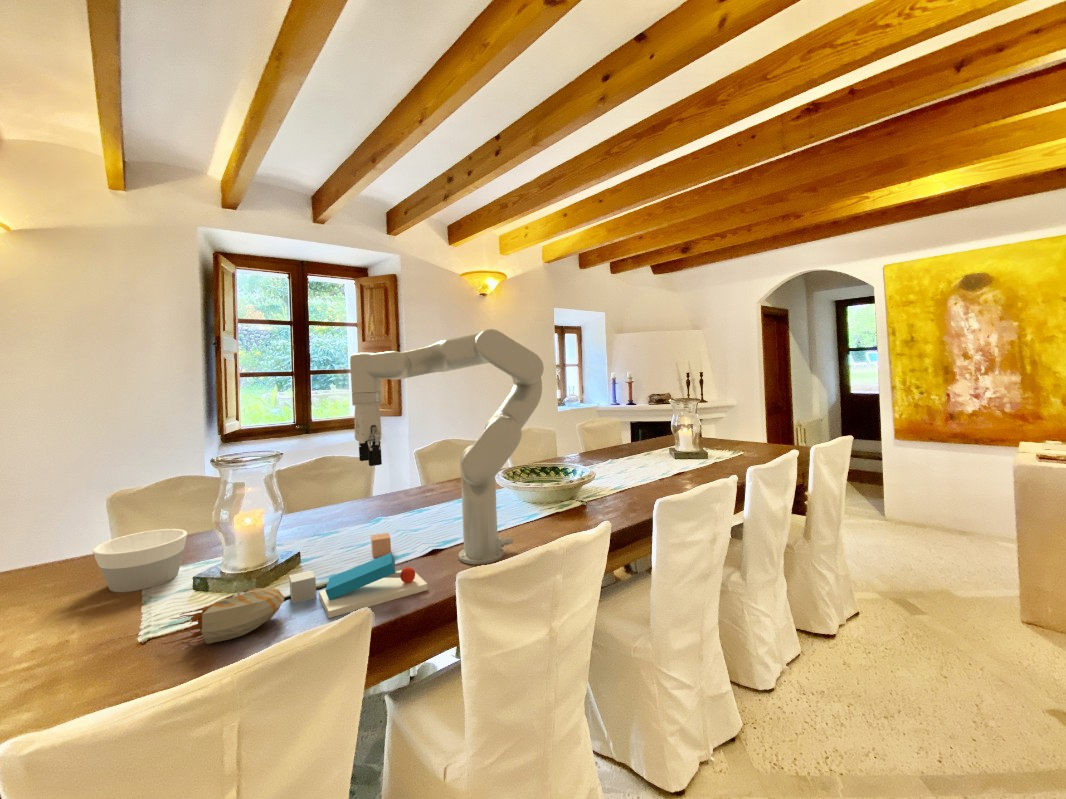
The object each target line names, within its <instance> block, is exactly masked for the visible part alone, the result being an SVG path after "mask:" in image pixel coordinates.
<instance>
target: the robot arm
mask: <svg viewBox="0 0 1066 799" xmlns="http://www.w3.org/2000/svg"><path fill="white" fill-rule="evenodd" d="M485 364H490V365H492V366H494V367H495V368H497V369H498V370H500V371H502V372H504V373H505V374H507V375H508V376H510V377H511V378H512V388H511V390H510V393H509V394H508V395H507V396H506V398H505V399H504V401H503V402H502V404H500V406H499V408H498V409H497V410H496V411H495V412H494V414H493V415H492V416H491V417H490V418H489V419H488V420H487V422H486V424H485V426H484V430H483V432H482V433H481V434H480V436H479V437H478V438H477V440H476V441H475V442H474V443H473V444H470V445H469V446H467V447H466V448H465V449H464V450H463V451H462V453H461V455H460V458H459V459H460V460H459V467H460V483H461V486H460V487H461V509H462V510H461V511H462V512H461V514H462V533H463V534H462V535H463V549H461V550H460V551H459V552H458V560H459V561H460V562H462V563H465V564H470V565H486V564H487V565H488V564H492V563H494V562H496V561H499V560H501V559H502V558H503V557H504V555H505V554H504V552H505V551H504V549H503V548H504V547H505V546H508V545H512V544H513V543H514V538H513V537H512V536H508V537H505V536H499V537H498V516H497V513H498V512H497V489H496V488H497V487H496V475H498V473H499V472H500V470H501V469H502V468H503V467H504V465H505V464H506V463H507V462H508V460H509V459H510V458H511V456H512V455H513V453H515V451H516V450H517V448H518V447H519V445H520V442H521V440H522V435H523V434H522V429H523V428H524V426H525V424H526V423H527V422H528V421H529V419H530V417H531V416H532V415H533V413H534V411H535V410H536V408H537V407H538V405H539V403H540V401H541V398H542V394H543V380H542V377H543V374H544V370H545V369H544V367H545V366H544V363H543V360H542V358H541V357H540V356H539V355H538V354H537V353H535V352H534V351H532V350H530V349H529V348H528V347H525V346H524V345H522V344H520V343H518V342H517V341H515V339H512V338H511V337H510V336H507V335H506V334H504V333H502V332H501V331H499V330H497V329H495V328H490V329H489V328H488V329H485V330H482V331H481V332H479V333H474V334H470V335H464V336H459V337H452V338H446V339H443V340H439V341H437V342H435V343H433V344H431V345H428V346H425V347H421V348H416V349H411V350H407V351H401V352H399V351H396V350H395V351H394V350H391V351H384V352H376V353H374V352H358V353H353V354H351V356H350V358H349V365H350V366H349V367H350V383H351V385H350V386H351V402H352V407H353V406H354V440H356V441H357V442H358V451H359V452H358V454H359V455H358V456H359V457H358V458H359V461H360V462H365V461H368V466H370V467H374V466H381V465H382V464H383V462H382V461H383V460H382V445H381V444H382V442H381V441H382V422H381V421H382V420H381V411H380V405H382V404H383V402H382V401H383V396H382V395H383V394H382V380H381V379H384V380H385V379H386V380H404V379H408V378H413V377H417V376H424V375H428V374H434V373H446V372H450V371H454V370H458V369H466V368H470V367H475V366H480V365H485Z"/></svg>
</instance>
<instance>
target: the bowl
mask: <svg viewBox="0 0 1066 799" xmlns="http://www.w3.org/2000/svg"><path fill="white" fill-rule="evenodd" d="M187 537H188V532H187V531H186V530H185V529H179V528H162V529H155V530H154V529H152V530H145V531H141V532H137V533H132V534H127V535H123V536H119V537H116V538H112V539H110V540H107V541H104V542H102V543H100V544H98V545H97V546H95V547H94V548H93V549H92V554H93V556H94V559H95V561H96V563H97V565H98V567H99V569H100V571H101V574H102V576H103V578H104V580H105V582H106V584H107V586H108V589H109V591H111V592H113V593H129V592H137V591H141V590H146V589H151V588H153V587H157V586H159V585H162V584H165V583H167V582H170V581H171V580H173V579H175V578H176V577H177V576H178V575H179V572H180V567H181V564H182V563H181V562H182V560H183V559H182V557H183V555H184V554H183V553H184V549H185V545H186V543H187V542H186V541H187Z"/></svg>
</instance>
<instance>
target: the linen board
mask: <svg viewBox="0 0 1066 799" xmlns="http://www.w3.org/2000/svg"><path fill="white" fill-rule="evenodd" d="M402 570H403V569H401V570H395V572H401V571H402ZM325 590H326V588H325V589H322V590H318V596H319V597H318V598H319V599H320V600H319V601H320V602H321V604H322V606H323V609H324V610H325V612H326V615H327V617H328V618H329V619H331V618H334V617H337V616H342V615H344V614H347V613H348V614H349V613H351V612H356V611H358V610H357V609H359V610H361V609H360V608H363V609H365V608H364V607H366V608H369V607H372V606H376V605H379V604H384V603H386V602H390V601H393V600H397V599H401V598H405V597H408V596H410V595H411V596H412V595H414V594H418V593H421V592H425V591H428V582H426V581H425V580H424V578H422V577H421V576H420V575H419V574H418V573H417V572H416V571H415V578H414V580H413V581H412V582H410V583H405V582H403V581H402V580H401V578H382V579H380V580H377V581H375V582H372V583H370V584H368V585H365V586H363V587H360V588H358V589H356V590H353V591H351V592H348V593H346V594H344V595H341V596H339V597H336V598H334V599H332V600H329V599H328V596H327V593H326V591H325ZM355 610H356V611H355Z"/></svg>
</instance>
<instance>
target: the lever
mask: <svg viewBox="0 0 1066 799" xmlns="http://www.w3.org/2000/svg"><path fill="white" fill-rule="evenodd" d="M401 570H402V571H401V572H396V561H395V558H394V555H393V553H392V552H391V553H389V554H387V555H384V556H378V557H376V558H374V559H372V560H370V561H367V562H364V563H363V564H360V565H358V566H354V567H353V568H350V569H348V570H345V571H342V572H340V573H337V574H335V575H333V576H330V577H329V578H328V581H327V583H326V587H325V589H326V590H325V589H324V590H325V591H326V593H327V596H328V599H329V600H332V599H334V598H336V597H339V596H341V595H344V594H346V593H348V592H351V591H353V590H356V589H358V588H360V587H363V586H365V585H368V584H370V583H372V582H375V581H377V580H380V579H382V578H401V580H402V581H403V582H405V583H410V582H412V581H413V580H414V578H415V572H416V571H415V569H413V568H412V567H409V566H408V567H405V568H403V569H401Z"/></svg>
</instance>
